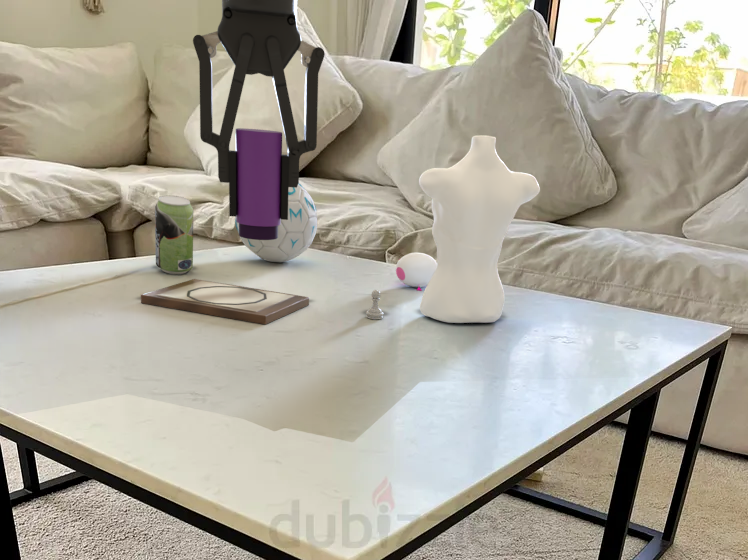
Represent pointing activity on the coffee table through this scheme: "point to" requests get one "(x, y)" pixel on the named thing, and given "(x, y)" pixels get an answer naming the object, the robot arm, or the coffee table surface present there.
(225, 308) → the drawing board
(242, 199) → the dot marker
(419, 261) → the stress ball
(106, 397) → the coffee table surface
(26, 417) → the coffee table surface
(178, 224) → the beverage can
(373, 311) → the pawn
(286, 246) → the puzzle ball
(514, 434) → the coffee table surface
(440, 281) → the torso sculpture
